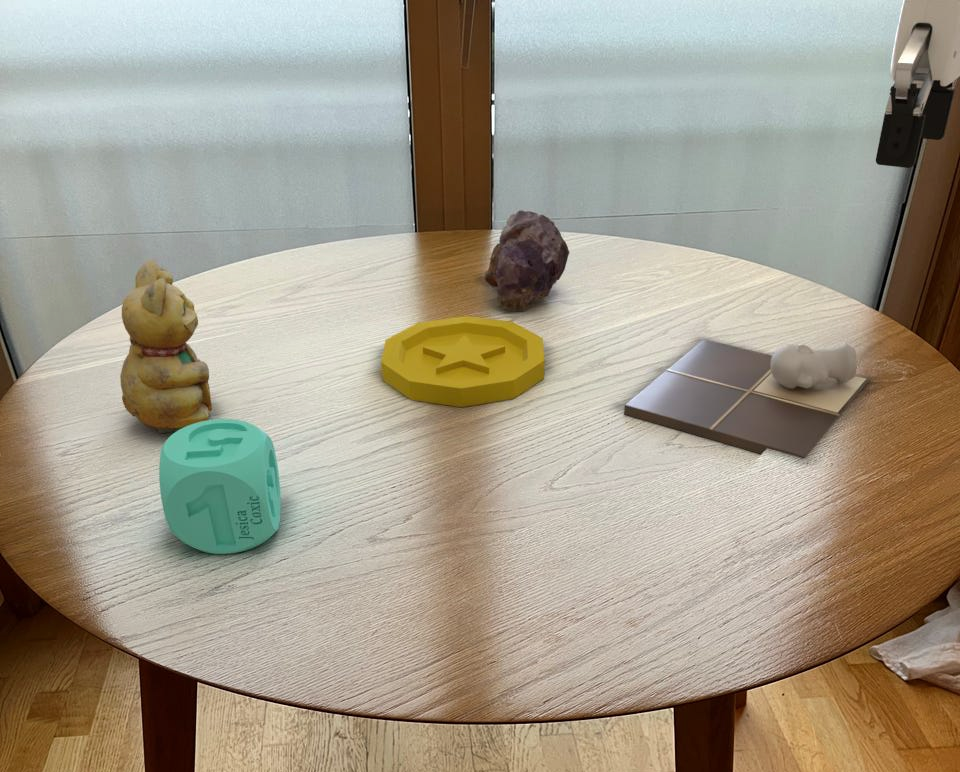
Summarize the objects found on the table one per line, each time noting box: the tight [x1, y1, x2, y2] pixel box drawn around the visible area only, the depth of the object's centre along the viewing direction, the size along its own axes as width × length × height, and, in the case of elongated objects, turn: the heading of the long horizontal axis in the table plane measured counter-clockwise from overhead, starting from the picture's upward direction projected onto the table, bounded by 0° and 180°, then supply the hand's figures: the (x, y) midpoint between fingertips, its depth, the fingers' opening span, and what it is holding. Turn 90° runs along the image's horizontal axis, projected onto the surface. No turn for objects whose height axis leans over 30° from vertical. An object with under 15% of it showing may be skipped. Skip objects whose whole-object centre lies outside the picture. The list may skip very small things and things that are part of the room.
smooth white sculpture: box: [770, 342, 858, 389], centre depth 97 cm, size 4×8×5 cm
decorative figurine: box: [119, 259, 213, 434], centre depth 92 cm, size 10×8×15 cm
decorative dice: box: [158, 418, 282, 555], centre depth 80 cm, size 8×8×8 cm
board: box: [623, 338, 871, 459], centre depth 98 cm, size 18×18×1 cm
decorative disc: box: [380, 315, 545, 408], centre depth 104 cm, size 17×18×2 cm
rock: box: [483, 209, 570, 312], centre depth 117 cm, size 12×9×10 cm
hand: (910, 151), depth 88 cm, fingers open, 9 cm apart
